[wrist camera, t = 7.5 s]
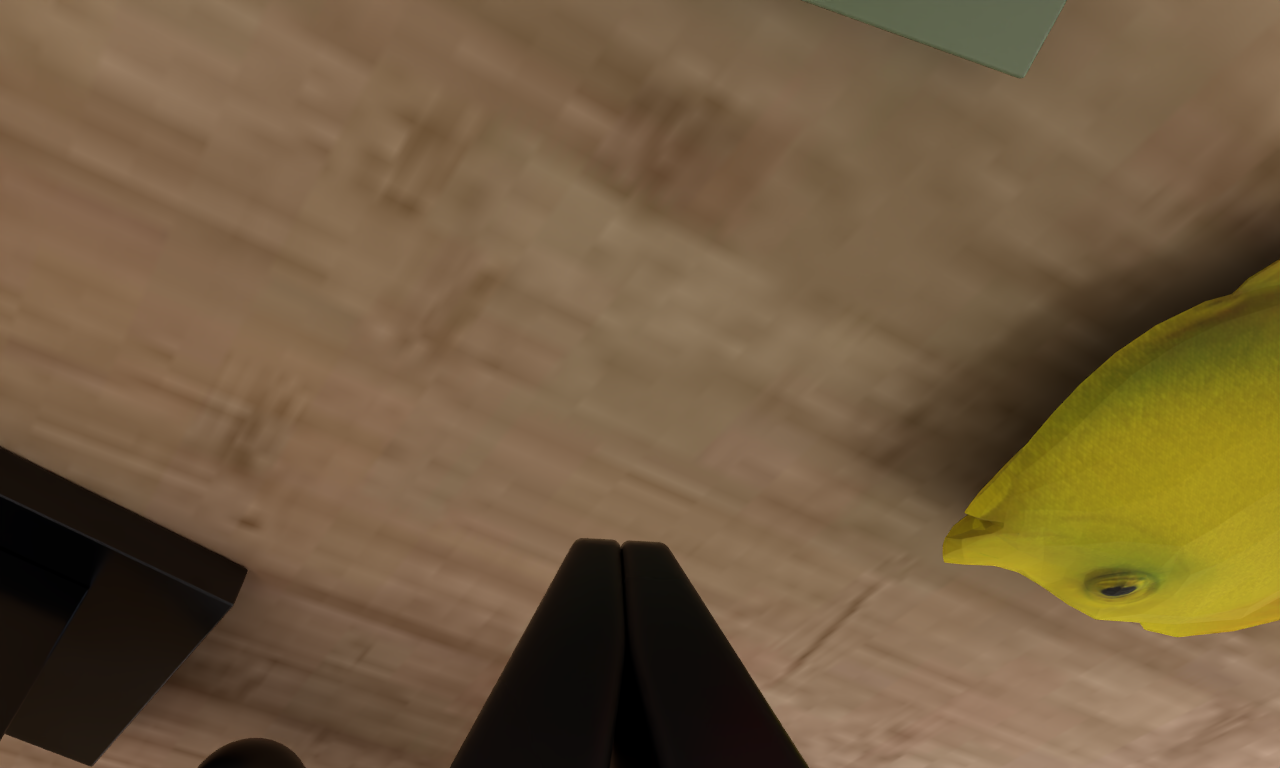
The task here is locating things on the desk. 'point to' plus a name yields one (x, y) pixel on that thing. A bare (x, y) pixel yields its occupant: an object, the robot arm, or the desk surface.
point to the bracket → (93, 610)
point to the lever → (253, 755)
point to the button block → (963, 26)
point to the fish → (1154, 478)
